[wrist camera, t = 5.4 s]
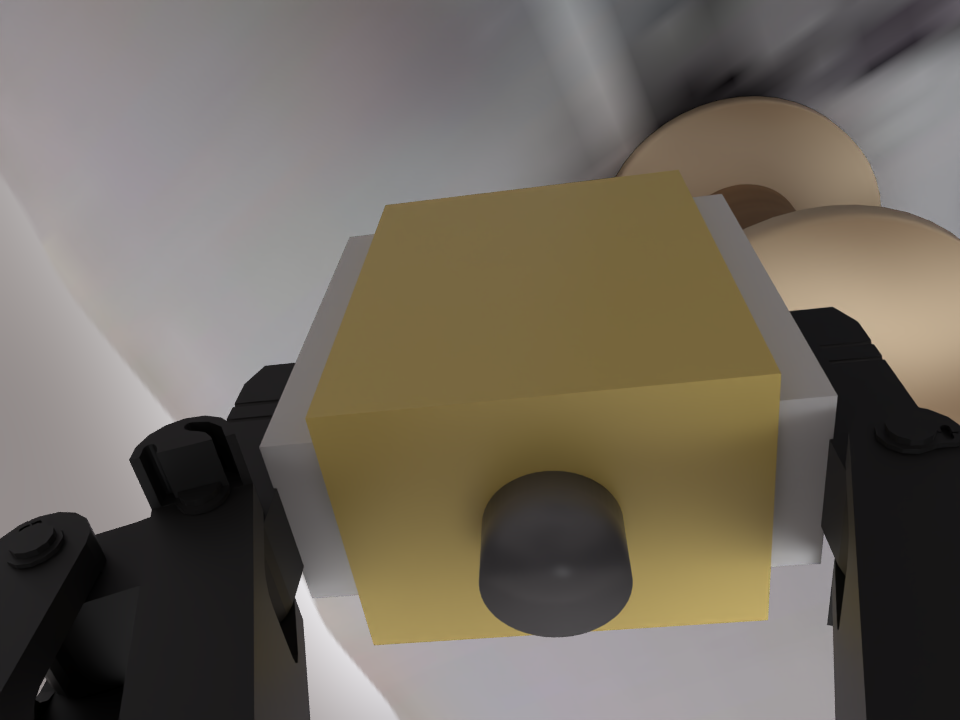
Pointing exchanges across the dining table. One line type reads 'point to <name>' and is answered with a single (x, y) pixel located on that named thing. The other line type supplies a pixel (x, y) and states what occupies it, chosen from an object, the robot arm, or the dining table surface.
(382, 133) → the dining table surface
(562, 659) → the dining table surface
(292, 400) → the robot arm
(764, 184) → the bobbin
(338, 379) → the yellow block
